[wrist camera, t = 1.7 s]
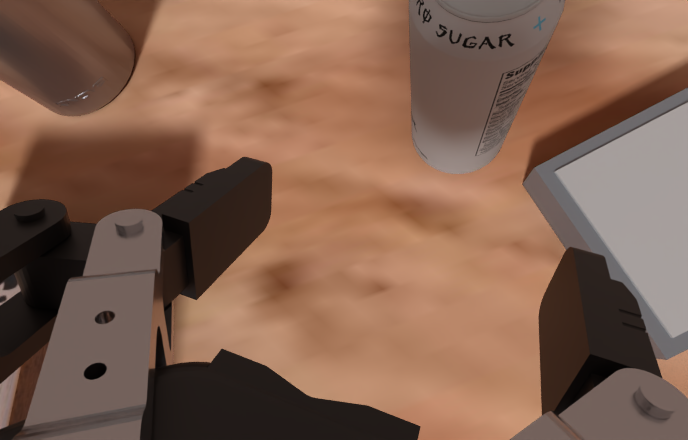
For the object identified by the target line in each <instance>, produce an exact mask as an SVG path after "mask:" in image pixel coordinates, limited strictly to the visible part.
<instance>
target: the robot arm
mask: <svg viewBox="0 0 688 440" xmlns="http://www.w3.org/2000/svg"><path fill="white" fill-rule="evenodd" d="M134 57H135V52H134V45H133V42H132V40H131V37H130V35H129V34H128V33H127V32H126V30H125V29H124V28H123V27H122V26H121V25H120V24H119V23H118V22H117V21H116V20H115V19H114V18H113V17H112V16H111V15H110V13H109V12H108V11H107V10H106V9H105V8H104V7H103V6H102V5H101V4H100V3H99V2H98V1H97V0H0V80H2V81H3V82H5V83H7V84H8V85H10V86H11V87H13V88H15V89H16V90H18V91H20V92H21V93H23V94H24V95H26V96H28V97H29V98H31V99H33V100H34V101H36V102H38V103H39V104H41V105H43V106H44V107H46V108H48V109H49V110H51V111H53V112H55V113H57V114H60V115H65V116H80V115H84V114H89V113H91V112H93V111H96V110H98V109H100V108H101V107H103V106H104V105H106V104H107V103H109V102H110V101H111V100H112V99H113V98H114V97H116V96H117V95H118V94H119V92H120V91H121V90H122V88H123V87H124V86H125V84H126V83H127V81H128V79H129V77H130V75H131V72H132V69H133V65H134ZM271 199H272V167H271V165H270V164H269V163H267V162H263V161H259V160H256V159H252V158H248V157H242V158H241V159H239V160H238V161H236V162H235V163H234V164H232V165H231V166H229V167H228V168H226V169H225V168H223V169H219V170H216V171H213V172H210V173H207V174H205V175H204V176H202V177H201V178H199V179H198V180H196V181H195V183H194V184H193V183H192V184H190V185H189V186H187V187H186V188H185V190H182V191H180V192H179V193H177V194H176V195H174V196H173V197H171V198H170V199H168V200H167V201H165V202H164V203H162V204H161V205H159V206H158V207H156V208H155V209H153V210H152V211H149V210H144V209H127V210H121V211H118V212H114V213H112V214H109V215H107V216H105V217H104V218H102V219H101V220H100V221H99V222H98V223H97V224H91V223H80V222H70V221H69V217H68V214H67V210H66V207H65V206H64V205H63V204H62V203H60V202H57V201H53V200H45V199H39V200H29V201H24V202H20V203H16V204H14V205H11V206H9V207H7V208H5V209H3V210H1V211H0V283H1V282H2V281H4V280H5V279H7V278H8V277H10V276H11V275H13V274H14V275H15V277H16V280H17V282H18V285H19V287H20V290H21V291H20V292H18V293H17V294H16V295H14V296H13V297H11V298H10V299H9V300H7V301H6V302H4V303H3V304H2V305H0V384H1V383H2V382H3V381H4V380H6V379H7V378H8V377H9V376H10V375H11V374H12V373H14V372H15V371H16V370H17V369H18V368H19V367H20V366H22V365H23V364H24V363H25V362H26V361H27V360H29V359H30V358H31V357H32V356H33V355H34V354H35V353H37V352H38V351H39V350H40V349H41V348H42V347H43V346H45V345H46V344H47V343H48V342H49V345H48V348H47V351H46V355H45V358H44V361H43V365H42V368H41V371H40V375H39V378H38V381H37V385H36V388H35V391H34V395H33V398H32V401H31V405H30V408H29V411H28V415H27V418H26V419H25V420H22V421H20V422H17V423H15V424H12V425H9V426H7V427H4V428H2V429H0V440H417V439H418V435H419V431H420V426H418V425H415V424H413V423H410V422H408V421H405V420H403V419H400V418H398V417H395V416H392V415H390V414H387V413H385V412H382V411H380V410H377V409H375V408H372V407H370V406H366V405H359V404H352V403H345V402H339V401H332V400H325V399H318V398H313V397H310V396H308V395H306V394H304V393H303V392H302V391H300V390H299V389H298V388H296V387H295V386H293V385H292V384H291V383H289V382H288V381H286V380H285V379H284V378H282V377H281V376H280V375H278V374H277V373H275V372H274V371H273V370H271V369H270V368H268V367H267V366H265V365H262V364H260V363H257V362H255V361H252V360H249V359H247V358H244V357H242V356H239V355H237V354H234V353H232V352H229V351H227V350H224V349H221V350H220V352H219V353H218V354H217V356H216V357H215V358H214V359H213V361H212V362H211V363H209V362H187V363H178V364H174V304H173V300H174V299H175V298H176V297H177V296H178V295H179V294H182V295H184V296H187V297H190V298H192V299H195V300H197V299H198V298H199V297H200V296H201V295H202V294H203V293H204V292H205V291H206V290H207V289H208V288H209V287H210V286H211V285H212V284H213V283H214V282H215V280H216V279H217V278H218V277H219V276H220V275H221V274H222V273H223V272H224V271H225V270H226V269H227V268H228V267H229V266H230V265H231V264H232V263H233V262H234V261H235V260H236V259H237V258H238V257H239V256H240V255H241V254H242V253H243V252H244V250H245V249H246V248H247V247H248V246H249V245H250V244H251V243H252V242H253V241H254V240H255V239H256V238H257V237H258V236H259V235H260V234H261V233H262V232H263V231H264V229H265V228H266V226H267V224H268V222H269V219H270V215H271ZM641 317H642V314H641V311H640V308H639V305H638V302H637V299H636V298H635V297H634V295H633V294H632V293H631V292H630V291H629V289H628V288H627V287H626V286H625V285H624V284H623V282H620V281H616V280H613V279H611V278H610V274H609V270H608V266H607V263H606V259H605V257H604V256H603V255H600V254H596V253H593V252H589V251H585V250H582V249H578V248H574V247H569V248H568V249H567V250H566V251H565V253H564V255H563V257H562V259H561V261H560V263H559V265H558V267H557V269H556V271H555V273H554V275H553V277H552V279H551V281H550V283H549V286H548V288H547V290H546V292H545V294H544V296H543V299H542V302H541V306H540V310H539V342H540V371H541V400H542V416H541V417H540V418H538V419H537V420H536V421H534V422H533V423H531V424H530V425H529V426H527V427H526V428H525V429H523V430H522V431H521V432H519V433H518V434H517V435H515V436H514V437H512V438H511V439H510V440H688V399H687V398H686V396H685V395H683V394H682V393H681V392H680V391H679V390H678V389H677V388H675V387H674V386H673V385H672V384H670V383H669V382H667V381H666V380H664V379H662V376H661V373H660V370H659V367H658V363H657V360H656V357H655V354H654V351H653V348H652V345H651V342H650V339H649V336H648V333H646V326H645V323H644V320H643V319H642V318H641Z"/></svg>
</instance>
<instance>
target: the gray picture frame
mask: <svg viewBox="0 0 688 440" xmlns="http://www.w3.org/2000/svg"><path fill="white" fill-rule="evenodd" d="M523 186H524V187H525V189H526V190H527V192H528V193H529V195H530V196H531V198H532V199H533V201H534V202H535V204H536V205H537V207H538V208H539V210H540V211H541V213H542V214H543V216H544V217H545V218H546V220H547V221H548V223H549V224H550V226H551V227H552V229H553V230H554V232H555V233H556V235H557V236H558V238H559V239H560V241H561V242H562V244H563V245H564V247H565V248H566V250H567V249H568V248H569V247H574V248H578V249H582V250H585V251H589V252H593V253H596V254H600V255H603V256H604V257H605V259H606V263H607V266H608V270H609V274H610V278H611V279H613V280H616V281H620V282H623V284H624V285H625V286H626V287H627V288H628V289H629V291H630V292H631V293H632V294H633V295H634V297H635V298H636V299H637V302H638V305H639V308H640V311H641V314H642V317H641V318H642V319H643V320H644V323H645V326H646V333H648V336H649V339H650V342H651V345H652V348H653V351H654V354H655V357H656V359H665V360H667V359H669V358H671V357H673V356H675V355H677V354H679V353H681V352H683V351H685V350H687V349H688V88H686V89H684V90H682V91H680V92H678V93H676V94H675V95H673V96H671V97H669V98H667V99H665V100H663V101H661V102H659V103H657V104H655V105H653V106H651V107H650V108H648V109H646V110H644V111H642V112H640V113H638V114H636V115H634V116H632V117H630V118H628V119H627V120H625V121H623V122H621V123H619V124H617V125H615V126H613V127H611V128H609V129H607V130H605V131H603V132H602V133H600V134H598V135H596V136H594V137H592V138H590V139H588V140H586V141H584V142H582V143H580V144H579V145H577V146H575V147H573V148H571V149H569V150H567V151H565V152H563V153H561V154H559V155H557V156H556V157H554V158H552V159H550V160H548V161H546V162H544V163H542V164H540V165H538V166H536V167H534V169H533V170H532V171H531V173H530V174H529V176H528V177H527V178H526V180H525V181H524V183H523Z"/></svg>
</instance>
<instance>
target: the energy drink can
mask: <svg viewBox="0 0 688 440" xmlns="http://www.w3.org/2000/svg"><path fill="white" fill-rule="evenodd" d="M564 3H565V0H409V37H410V77H411V118H412V139H413V144H414V146H415V149H416V151H417V153H418V154H419V156H420V157H421V158H422V159H423V160H424V161H425V162H426V163H427V164H428V165H430V166H431V167H433V168H435V169H437V170H439V171H442V172H446V173H451V174H464V173H470V172H473V171H476V170H478V169H481V168H482V167H484V166H486V165H487V164H488V163H490V162H491V161H492V160H493V159H494V158H495V156H496V155H497V154H498V152H499V151H500V149H501V146H502V144H503V142H504V140H505V138H506V135H507V133H508V131H509V129H510V127H511V124H512V122H513V120H514V118H515V116H516V113H517V111H518V109H519V107H520V105H521V102H522V100H523V98H524V96H525V94H526V92H527V89H528V87H529V85H530V83H531V81H532V78H533V76H534V74H535V72H536V70H537V67H538V65H539V63H540V61H541V59H542V56H543V54H544V52H545V50H546V48H547V45H548V43H549V41H550V39H551V37H552V34H553V32H554V30H555V28H556V26H557V23H558V21H559V19H560V17H561V14H562V12H563V9H564Z"/></svg>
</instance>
